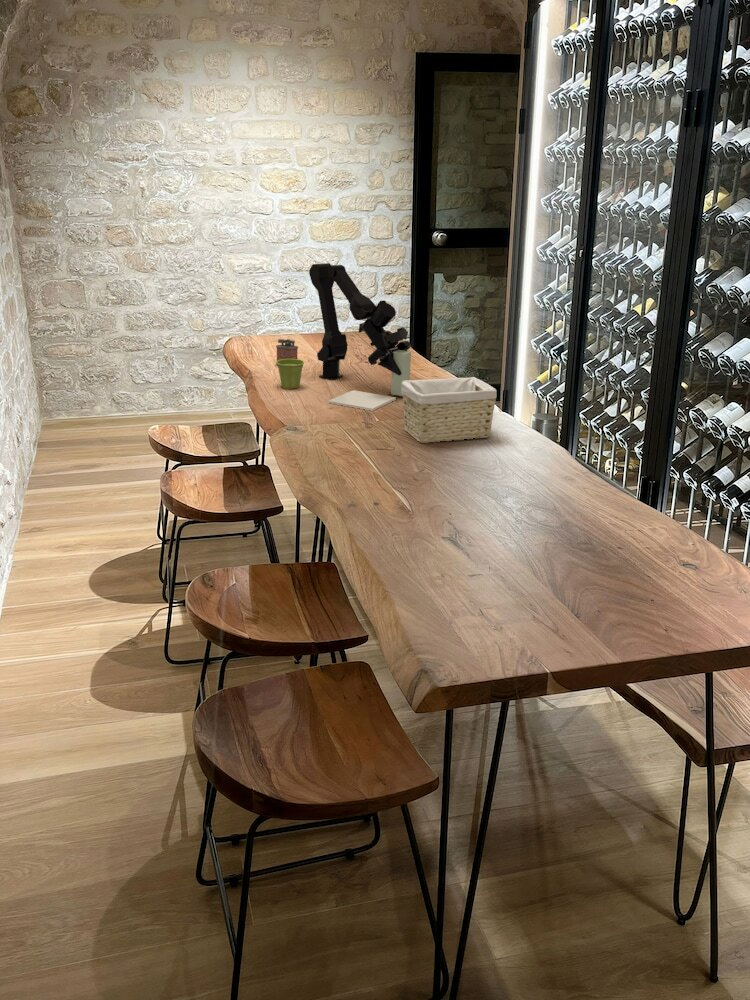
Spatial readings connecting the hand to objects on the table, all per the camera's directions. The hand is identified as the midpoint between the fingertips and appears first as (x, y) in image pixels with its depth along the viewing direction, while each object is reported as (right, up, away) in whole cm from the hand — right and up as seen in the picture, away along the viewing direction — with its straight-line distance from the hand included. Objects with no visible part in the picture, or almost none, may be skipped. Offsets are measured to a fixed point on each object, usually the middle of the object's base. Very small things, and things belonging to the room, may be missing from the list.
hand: (404, 373), depth 284 cm
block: (-1, -6, +3) cm, 7 cm away
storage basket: (+11, -23, -33) cm, 42 cm away
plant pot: (-38, -3, +10) cm, 40 cm away
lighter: (-42, +8, +38) cm, 58 cm away
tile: (-14, -10, -4) cm, 17 cm away
